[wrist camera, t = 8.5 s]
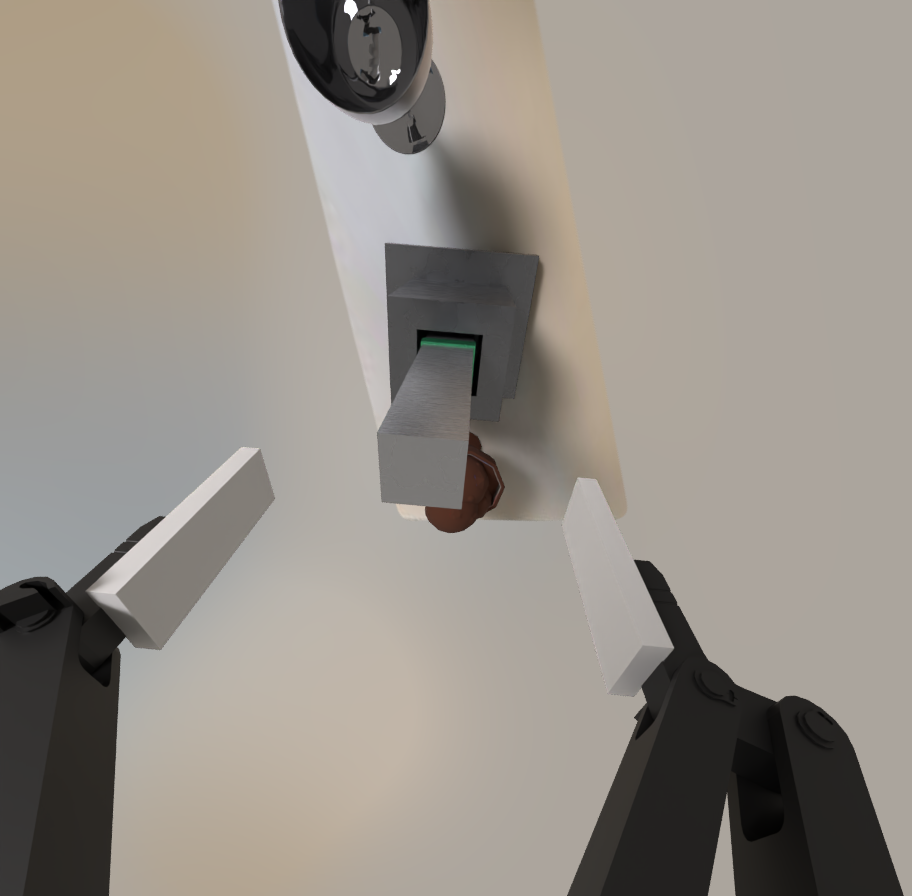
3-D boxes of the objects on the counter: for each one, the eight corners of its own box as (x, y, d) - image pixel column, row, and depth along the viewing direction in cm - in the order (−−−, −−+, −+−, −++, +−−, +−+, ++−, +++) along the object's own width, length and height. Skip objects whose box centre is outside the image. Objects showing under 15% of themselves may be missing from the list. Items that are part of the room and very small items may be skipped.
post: (431, 321, 32) (373, 429, 15) (476, 324, 32) (472, 438, 15) (430, 364, 35) (378, 503, 17) (472, 368, 35) (464, 511, 17)
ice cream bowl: (500, 475, 52) (507, 552, 40) (428, 475, 53) (412, 551, 40) (501, 413, 46) (509, 480, 34) (421, 415, 47) (400, 481, 35)
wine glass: (467, 86, 30) (458, -22, 17) (419, 180, 33) (382, 148, 21) (389, 6, 27) (312, -186, 15) (346, 116, 31) (256, 38, 19)
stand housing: (388, 242, 36) (340, 248, 24) (537, 255, 36) (567, 267, 24) (393, 383, 45) (359, 440, 33) (513, 393, 45) (525, 455, 32)
